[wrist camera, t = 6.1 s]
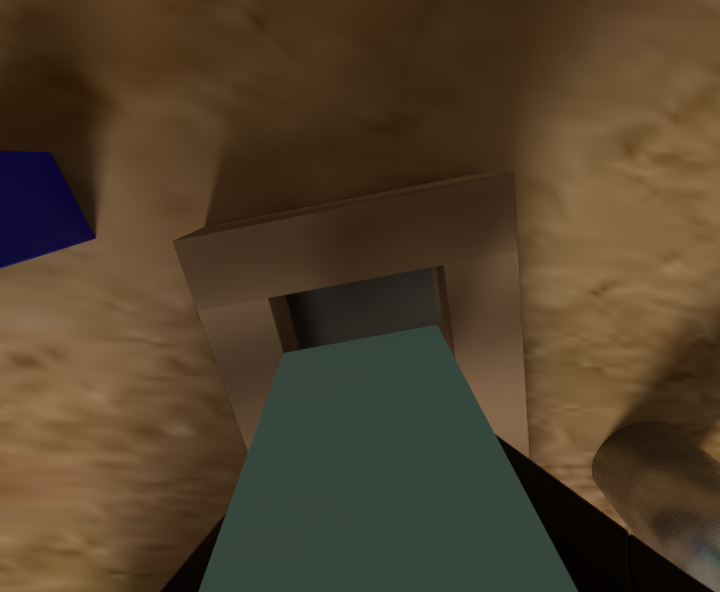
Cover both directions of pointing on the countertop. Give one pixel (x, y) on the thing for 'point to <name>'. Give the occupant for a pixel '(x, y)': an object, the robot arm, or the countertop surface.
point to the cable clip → (36, 208)
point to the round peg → (665, 495)
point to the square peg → (379, 482)
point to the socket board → (368, 287)
